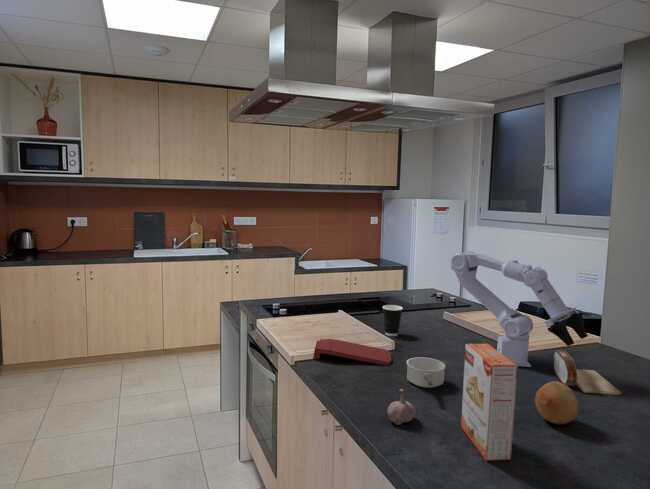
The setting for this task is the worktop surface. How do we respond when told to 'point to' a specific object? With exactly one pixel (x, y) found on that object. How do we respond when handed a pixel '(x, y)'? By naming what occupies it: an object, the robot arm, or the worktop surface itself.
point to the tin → (565, 367)
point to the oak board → (594, 383)
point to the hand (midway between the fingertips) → (578, 341)
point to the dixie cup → (392, 319)
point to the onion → (557, 403)
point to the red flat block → (352, 351)
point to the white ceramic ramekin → (425, 372)
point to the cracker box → (489, 401)
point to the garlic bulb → (401, 410)
